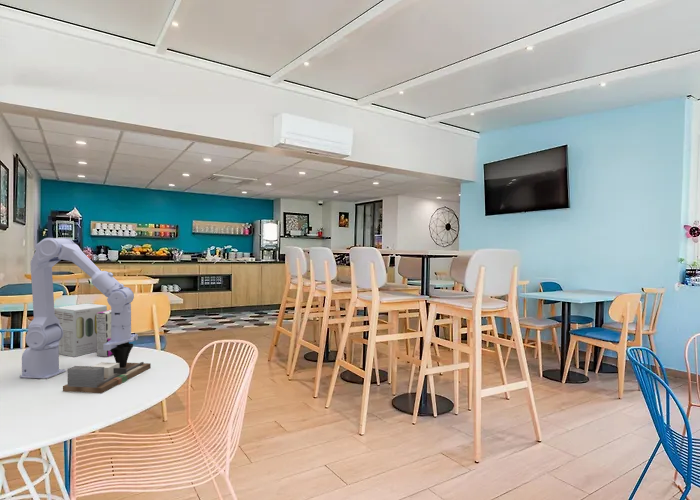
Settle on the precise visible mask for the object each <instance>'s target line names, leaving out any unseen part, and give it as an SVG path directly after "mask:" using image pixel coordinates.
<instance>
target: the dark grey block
mask: <svg viewBox="0 0 700 500" xmlns="http://www.w3.org/2000/svg"><path fill="white" fill-rule="evenodd" d="M66 371H67V375H66V376H67V384H68V386H71V387H92V388H97V387H99V386H101V385H103V384H104V367H91V366H88V365H87V366H86V365H85V366H84V365H74V366H72V367H69V368H67V370H66Z"/></svg>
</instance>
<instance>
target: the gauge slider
mask: <svg viewBox="0 0 700 500" xmlns="http://www.w3.org/2000/svg"><path fill="white" fill-rule="evenodd" d="M91 367H104V378H109V377H111V376H114V375H116V374H127V368H119V363H116V362H102V361H101V362H99V363H96V364H94V365H92V366H91Z"/></svg>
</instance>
